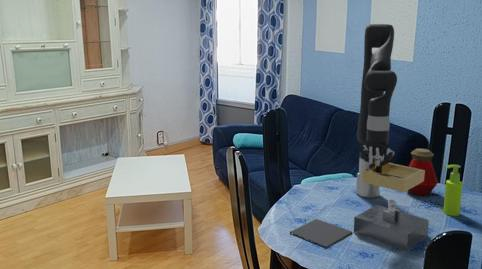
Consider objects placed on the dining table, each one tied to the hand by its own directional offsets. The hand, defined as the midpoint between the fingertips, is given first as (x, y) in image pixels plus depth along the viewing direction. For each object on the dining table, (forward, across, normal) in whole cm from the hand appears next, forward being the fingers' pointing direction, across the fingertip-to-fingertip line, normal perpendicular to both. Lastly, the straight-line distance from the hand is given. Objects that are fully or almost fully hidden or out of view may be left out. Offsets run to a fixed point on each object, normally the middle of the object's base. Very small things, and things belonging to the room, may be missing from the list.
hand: (375, 174), depth 151 cm
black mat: (+21, -11, -17) cm, 29 cm away
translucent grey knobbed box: (+21, +7, 0) cm, 22 cm away
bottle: (+21, -4, +48) cm, 53 cm away
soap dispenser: (+21, +15, +34) cm, 43 cm away
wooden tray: (+1, +7, 0) cm, 7 cm away
